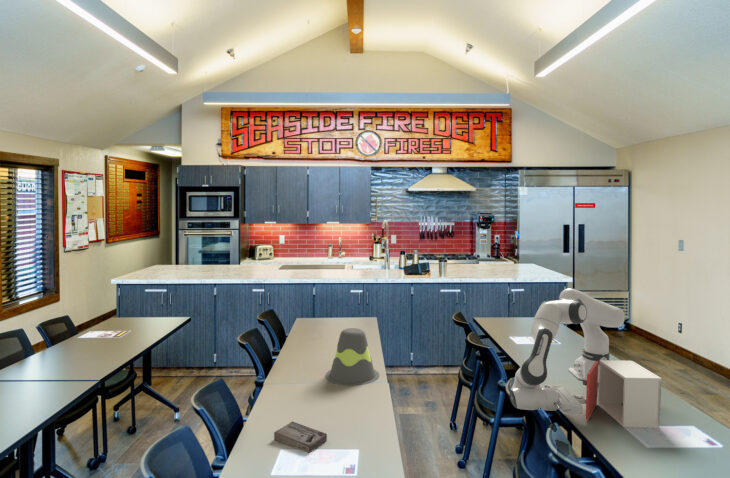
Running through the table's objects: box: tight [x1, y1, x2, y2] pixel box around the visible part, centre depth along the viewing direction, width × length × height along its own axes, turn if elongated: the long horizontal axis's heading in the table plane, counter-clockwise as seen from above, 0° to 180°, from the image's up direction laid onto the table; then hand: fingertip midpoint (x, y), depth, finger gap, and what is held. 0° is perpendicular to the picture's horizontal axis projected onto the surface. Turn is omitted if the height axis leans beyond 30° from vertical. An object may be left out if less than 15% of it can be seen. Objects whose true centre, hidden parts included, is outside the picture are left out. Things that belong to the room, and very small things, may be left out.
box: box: [273, 421, 328, 454], centre depth 175 cm, size 11×17×3 cm, turn 57°
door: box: [582, 361, 599, 421], centre depth 200 cm, size 21×3×19 cm, turn 145°
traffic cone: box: [325, 327, 380, 386], centre depth 243 cm, size 28×28×24 cm
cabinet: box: [597, 359, 662, 429], centre depth 197 cm, size 22×14×20 cm, turn 178°
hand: (584, 400), depth 194 cm, fingers closed
